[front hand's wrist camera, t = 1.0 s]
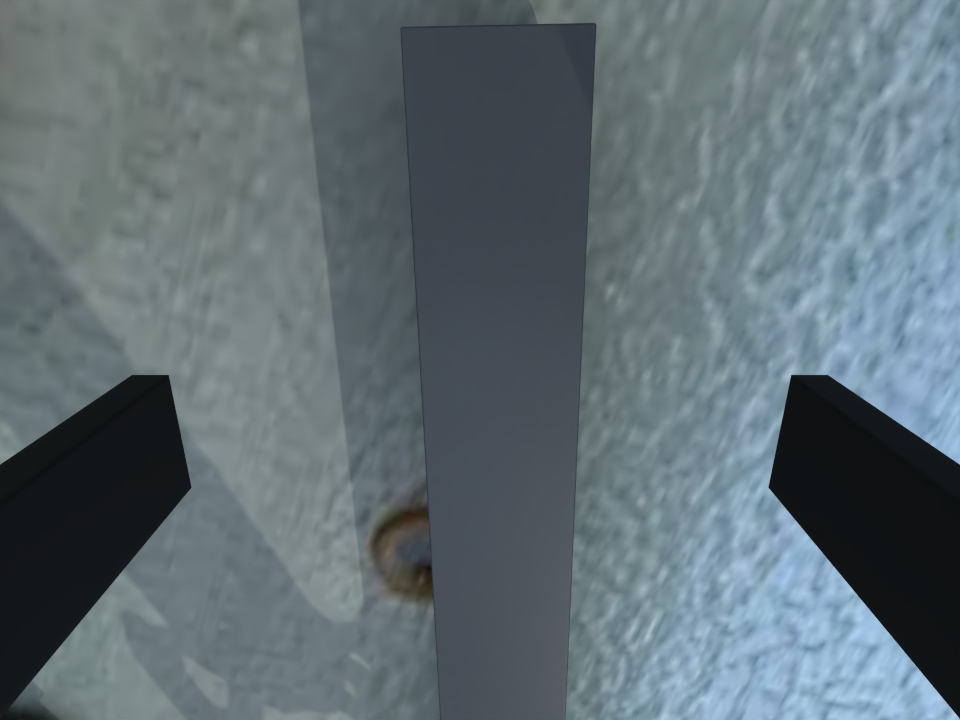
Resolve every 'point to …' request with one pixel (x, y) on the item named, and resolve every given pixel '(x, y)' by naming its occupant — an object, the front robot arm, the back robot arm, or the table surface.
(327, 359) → the table surface
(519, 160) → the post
